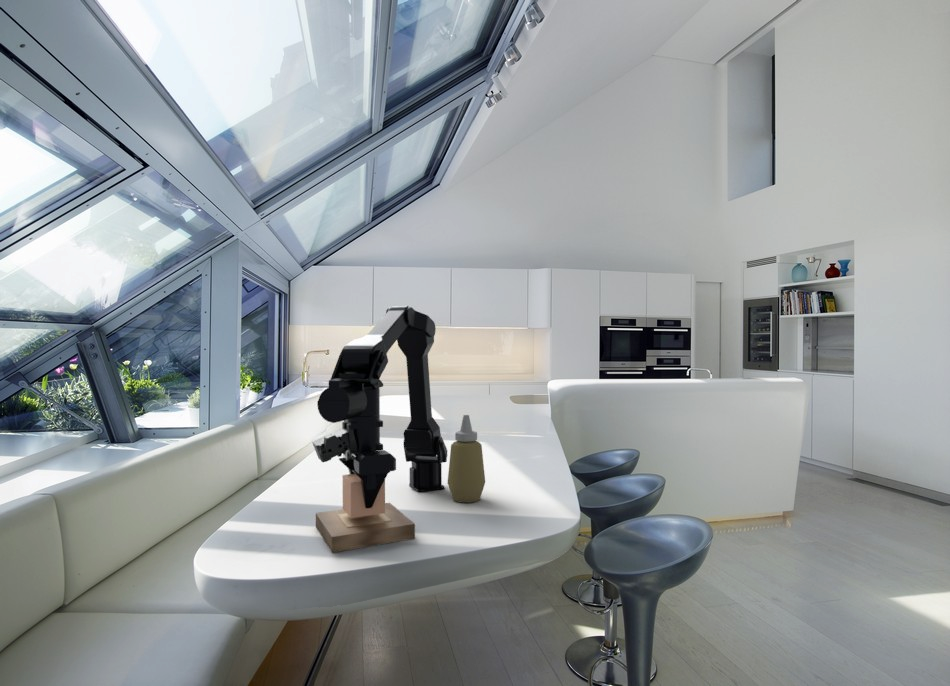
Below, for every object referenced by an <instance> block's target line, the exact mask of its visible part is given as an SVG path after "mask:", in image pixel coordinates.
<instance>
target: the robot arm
mask: <svg viewBox="0 0 950 686" xmlns="http://www.w3.org/2000/svg"><path fill="white" fill-rule="evenodd" d="M435 335H436V323H435V321H434V320H433V319H432V318H431V317H430V316H429V315H428V314H425V313H422V312H420V311H417V310H415V309H414V307H412V306H409V305H399V306H398V305H397V306H395V305H393V306H390V307H387V309H386V310H385V314H384V315H383V316H382V317H381V319H380V320H378V322H376V324H375V325H374V326H373V327H372V328H371V330H370V331H369V332H368V333H367V334H366V335H365V336H363V337H359V338H355V339H353V340H351V341H350V342H348V343H346V344H345V345H344V346H343V348H341V351H340V353H339V356H338V358H337V361H336V364H335V366H334V369H333V372H332V374H331V377H330V379H329V380H328V387H327V388H325V389H324V390H323V391H322V392H321V393H320V395H319V397H318V400H317V411H318V413H319V415H320V416H321V417H322V419H323V420H325V421H326V422H328V423H333V424H335V423H339V422H342V423H341V424H342V427H341V429H339V430H336V431H333V432H330V433H328V434H325V435H324V436H321V437H319V438H317V439H315V440H313V441H312V445H313V448H314V450H315V453H316V455H317V458H318V459H319V460H320V462H321V463H327V462H328V461H331V460H332V459H333V458H335V457H338V460H339V462H341V463H342V464H343V465H344V466H345V467H346V468H347V470H348V473H349V474H356V475H357V476H358V477H359V478H360V479H361V485H362V491H363V498H364V503H365V507H366V508H372V506H373V504H374V502H375V500H376V497H377V495H378V493H379V491H380V489H381V486H382V484H383V482H384V480H385V481H386V478H387V476H388V474H389V473H391V472H394V471H396V470H397V458H396V457H395V456H394V455H393V454H391V453H390V452H389V451H387V450H385V449H384V444H383V443H381V438H380V437H381V431H380V428H383V427H384V420H382V419H380V418H381V417H380V416H381V414H380V413H381V411H380V410H381V409H380V398H381V397H380V391H381V390H380V388H383V387H384V383H383V382H382V380H381V376H382V374H383V372H384V371H385V370H386V368H387V367H386V366H387V365H388V363H389V358H388V355H387V353H389V351H390V349H391V348H392V347H393V345H394V344H395V343H396V342H397V346H398V348H399V349H400V351H401V352H402V353H403V354H404V356H405V359H406V370H407V371H406V372H407V382H408V383H407V384H408V397H409V398H408V399H409V410H410V411H409V412H410V422H409V423H408V425H407V426H406V427H407V428H406V429H404V431H403V438H404V439H403V450H404V456H405V462H407V463H408V462H411V466H410V467H409V485H408V486H409V487H410V488H412V489H414V490H415V491H417V492H419V493H421V492H427V491H435V490H441V489H442V490H443V489H445V485H443V483H442V478H443V477H442V474H443V473H442V463H447V461H448V460H447V459H448V448H447V446H446V443H445V441H444V439H443V437H442V435H441V428H440V425H439V424H438V423H437V421H436V420H435V419H434V418H433V414H432V413H433V412H432V397H431V384H430V370H429V368H430V367H429V353H430V352H431V349H432V347H433V345H434V343H435ZM342 456H343V457H342ZM339 457H340V458H339Z"/></svg>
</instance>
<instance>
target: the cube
mask: <svg viewBox="0 0 950 686" xmlns="http://www.w3.org/2000/svg"><path fill="white" fill-rule="evenodd" d="M385 503H386V479H385V480H384V482H383V484H382V486H381V489H380V491H379V493H378V495H377V497H376V500H375V502H374V504H373V506H372V508H366V507H365V503H364V498H363V491H362V485H361V479H360V478H359V477H358V476H357V475H356V474H350V473H349V474H342V509H344V511H345V512H346V513H347V514H348V515H349V517H350V518H356V517H362V516H369V515H376V514H382V513H385Z"/></svg>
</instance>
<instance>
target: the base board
mask: <svg viewBox="0 0 950 686" xmlns="http://www.w3.org/2000/svg"><path fill="white" fill-rule="evenodd" d="M315 529H317V532H318V533H319V534H320V536H321V538H322V540H324V542H325V544H326V545H327V547H328V548H329V550H330V552H331V554H332V553H340V552H345V551H349V550H350V551H351V550H356V549H357V550H358V549H361V548H367V547H373V545H374V546H378V544H380V545H385V544H384V543H386V544H391V543H395V542H402V541H407V540H414V539H416V525H415V522H413V521H412V520H411V519H410V518H409V517H408V516H407V515H405V514H404V513H403V512H401V511H400V510H399V509H398V508H397V507H396V506H395V505H393V504H392V503H391V502H385V513H382V514H376V515H369V516H362V517H356V518H350V517H349V515H348V514H347V513H346V512H345V511H344V509H343V508H341V509H333V510H327V511H321V512H315ZM390 542H391V543H390Z"/></svg>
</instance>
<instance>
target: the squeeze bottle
mask: <svg viewBox="0 0 950 686" xmlns="http://www.w3.org/2000/svg"><path fill="white" fill-rule="evenodd" d="M454 439H455V441H454V442H453V443H452V444H451V445H450V455H449V462H448V463H449V465H448V474H447V485H448V489H449V491H450V495H451V497H452V500H453V501H455V502H459V503H465V502H466V503H474V502H478V501H480V499H481V498H482V494H483V491H484V488H485V484H486V476H485V466H484V457H483V455H484V454H483V448H482V443H480V441H477V440H478V432H477V431H474V430H473V428H472V423H471V419H470V415H469V414H463V416H462V420H461V425H460V430H459V431H455V436H454Z"/></svg>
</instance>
